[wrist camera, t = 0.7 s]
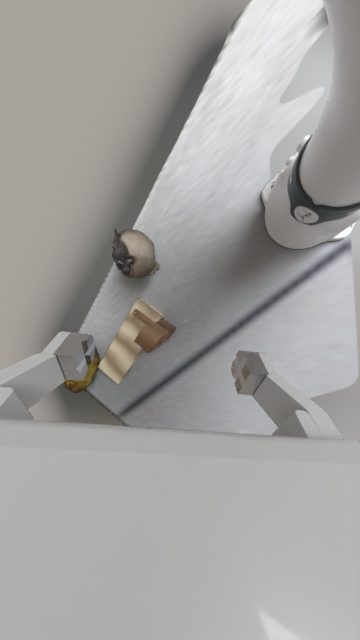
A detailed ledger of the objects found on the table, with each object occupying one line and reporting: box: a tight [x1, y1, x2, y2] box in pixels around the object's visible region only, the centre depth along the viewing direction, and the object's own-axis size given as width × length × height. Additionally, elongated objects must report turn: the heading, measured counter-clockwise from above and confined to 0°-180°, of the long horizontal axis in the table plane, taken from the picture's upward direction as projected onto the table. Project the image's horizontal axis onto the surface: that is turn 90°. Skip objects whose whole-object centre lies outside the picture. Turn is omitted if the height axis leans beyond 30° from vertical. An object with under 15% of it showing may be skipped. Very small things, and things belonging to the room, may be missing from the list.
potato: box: [64, 349, 99, 393], centre depth 50 cm, size 8×13×8 cm, turn 152°
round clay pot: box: [112, 229, 160, 278], centre depth 40 cm, size 10×12×10 cm
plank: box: [98, 298, 164, 384], centre depth 49 cm, size 24×8×2 cm, turn 146°
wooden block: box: [132, 309, 176, 353], centre depth 42 cm, size 4×11×12 cm, turn 56°
